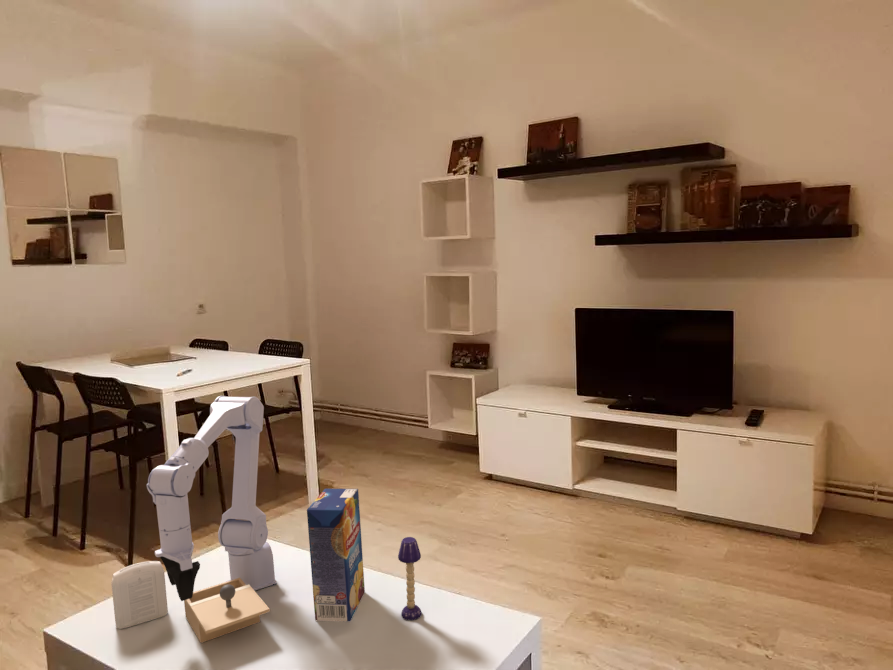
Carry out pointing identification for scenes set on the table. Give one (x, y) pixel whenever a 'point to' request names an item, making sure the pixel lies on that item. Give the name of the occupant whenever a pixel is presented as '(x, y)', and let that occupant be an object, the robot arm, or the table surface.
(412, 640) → the table surface
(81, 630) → the table surface
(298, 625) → the table surface
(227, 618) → the lid
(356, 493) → the juice carton
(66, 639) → the table surface
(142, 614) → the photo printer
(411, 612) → the toy lamp
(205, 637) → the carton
